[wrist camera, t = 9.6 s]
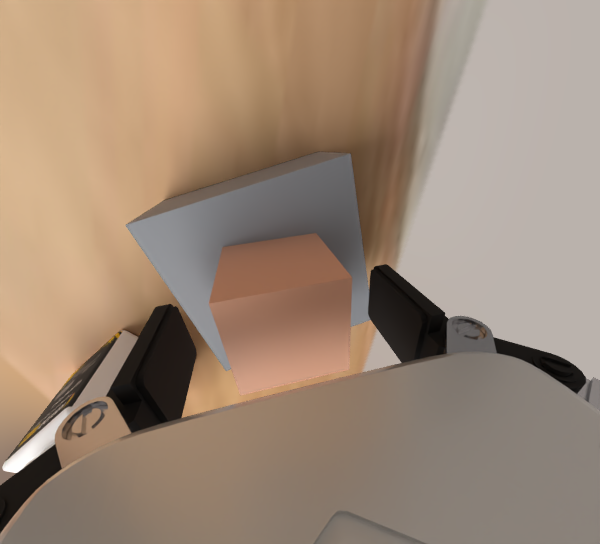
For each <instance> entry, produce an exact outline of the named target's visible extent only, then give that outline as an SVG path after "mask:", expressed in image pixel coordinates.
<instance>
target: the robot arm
mask: <svg viewBox="0 0 600 544" xmlns="http://www.w3.org/2000/svg"><path fill="white" fill-rule="evenodd" d="M368 315H369V318H370V319H371V321H372V322H373V324H374V325H375V326H376V328H377V329H378V330H379V332H380V333H381V335H382V336H383V337H384V339H385V340H386V341H387V343H388V344H389V345H390V347H391V348H392V350H393V351H394V353H395V354H396V355H397V357H398V358H399V359H400V361H401V362H402V363H400V364H396V365H391V366H387V367H383V368H379V369H375V370H371V371H367V372H362V373H358V374H354V375H350V376H346V377H342V378H338V379H334V380H330V381H326V382H322V383H318V384H313V385H309V386H305V387H301V388H297V389H293V390H289V391H285V392H281V393H277V394H273V395H269V396H265V397H261V398H257V399H254V400H250V401H246V402H242V403H238V404H234V405H230V406H226V407H222V408H218V409H214V410H210V411H206V412H202V413H199V414H195V415H191V416H188V417H184V418H181V417H182V413H183V409H184V405H185V401H186V396H187V392H188V388H189V384H190V380H191V376H192V371H193V367H194V363H195V359H196V348H195V346H194V343H193V341H192V339H191V337H190V334H189V332H188V330H187V328H186V325H185V323H184V321H183V319H182V316H181V314H180V312H179V310H178V308H177V307H176V306H175V307H173V305H171V304H168V305H163V306H157V307H156V308H155V309H154V311H153V313H152V315H151V316H150V318H149V320H148V322H147V323H146V325H145V327H144V329H143V331H142V332H141V334H140V336H139V338H138V339H137V341H136V343H135V345H134V346H133V348H132V350H131V352H130V353H129V355H128V357H127V359H126V361H125V362H124V364H123V366H122V368H121V369H120V371H119V373H118V375H117V376H116V378H115V380H114V382H113V384H112V385H111V387H110V390H109V391H108V393H107V395H106V397H105V396H103V397H97V398H94V399H92V400H89V401H87V402H85V403H84V404H82V405H80V406H79V407H78V408H76V409H75V410H74V411H72V412H71V413H70V414H69V415H68V416H67V417H66V418H65V419H64V420H63V421H62V423H61V424H60V426H59V427H58V429H57V431H56V433H55V445H53V446H52V447H51V448H49V449H48V450H47V451H45V452H44V453H43V454H41V455H40V456H39V457H37V458H36V459H35V460H33V461H32V462H31V463H29V464H28V465H27V466H25V467H24V468H23V469H21V470H20V471H19V472H18V473H16V474H15V475H14V476H12V477H11V478H10V479H8V480H7V481H6V482H4V483H3V484H2V485H0V544H600V380H598V379H596V378H593V379H592V380H591V381H590V380H588V379H586V377H585V376H584V374H583V373H582V371H580V370H579V369H578V368H577V367H576V366H575V365H573V364H572V363H570V362H569V361H567V360H565V359H563V358H561V357H559V356H556V355H553V354H551V353H547V352H544V351H540V350H537V349H533V348H530V347H525V346H522V345H519V344H515V343H512V342H508V341H505V340H501V339H497V338H494V337H493V335H492V332H491V330H490V329H489V328H488V327H487V326H486V325H485V324H483V323H482V322H480V321H478V320H476V319H473V318H469V317H465V316H455V317H452V318H450V319H448V318H447V317H446V316H445V312H443V311H442V310H441V309H440V308H439V307H437V306H436V305H435V304H434V303H432V302H431V301H430V300H429V299H428V298H427V297H425V296H424V295H423V294H422V293H420V292H419V291H418V290H417V289H416V288H415V287H413V286H412V285H411V284H410V283H409V282H407V281H406V280H405V279H404V278H403V277H401V276H400V275H399V274H398V273H397V272H395V271H394V270H393V269H392V268H391V267H389V266H388V265H387V264H385V265H380V266H375V267H374V270H371V275H370V289H369V303H368Z"/></svg>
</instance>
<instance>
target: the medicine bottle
mask: <svg viewBox="0 0 600 544" xmlns="http://www.w3.org/2000/svg"><path fill="white" fill-rule="evenodd" d="M138 338H139V337H137V336H135V335H133V334H132V333H130V332H128V331H126V330H121V331H119V332H118V333H117V334H116V335H115V336H114V337H113V338H112V339H110V340H109V341H108V342H107V343H106V344H105V345H104V346H103V347H102V348H101V349H100V350H98V351H97V352H96V353H95V354H94V355H93V356H92V357H91V358H90V359H89V360H88V361H86V362H85V363H84V364H83V365H82V366H81V367H80V368H79V369H78V370H77V371H76V372H75V373H73V374H72V375H71V377H70V378H69V379H68V380H67V382H66V383H65V384H64V386H63V387H62V388H61V390H60V391H59V392H58V394H57V395H56V396H55V397H54V399H53V400H52V401H51V403H50V404H49V405H48V407H47V408H46V409H45V410H44V412H43V413H42V414H41V416H40V417H39V418H38V420H37V421H36V423H35V424H34V425H33V426H32V427H31V429H30V430H29V431H28V433H27V434H26V435H25V436H24V438H23V439H22V440H21V442H20V443H19V445H18V446H17V447H16V448H15V450H14V451H13V452H12V453H11V455H10V456H9V457H8V459H7V460H6V461H5V463H4V465H3V470H4V471H8V472H14V473H18V472H19V471H20V470H21V469H23V468H24V467H25V466H27V465H28V464H29V463H31V462H32V461H33V460H35V459H36V458H37V457H39V456H40V455H41V454H43V453H44V452H45V451H47V450H48V449H49V448H51V447H52V446H53V445H55V433H56V431H57V429H58V427H59V426H60V424H61V423H62V421H63V420H64V419H65V418H66V417H67V416H68V415H69V414H70V413H71V412H72V411H74V410H75V409H76V408H78V407H79V406H80V405H82V404H84V403H85V402H87V401H89V400H92V399H94V398H97V397H103V396H105V397H106V395H107V393H108V391H109V390H110V387H111V385H112V384H113V382H114V380H115V378H116V376H117V375H118V373H119V371H120V369H121V368H122V366H123V364H124V362H125V361H126V359H127V357H128V355H129V353H130V352H131V350H132V348H133V346H134V345H135V343H136V341H137V339H138Z"/></svg>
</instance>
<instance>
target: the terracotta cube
mask: <svg viewBox="0 0 600 544" xmlns="http://www.w3.org/2000/svg"><path fill="white" fill-rule="evenodd" d="M351 300H352V277H351V275H350V274H349V273H348V272H347V270H346V269H345V268H344V267H343V265H342V264H341V263H340V262H339V261H338V259H337V258H336V257H335V256H334V254H333V253H332V252H331V251H330V249H329V248H328V247H327V246H326V245H325V243H324V242H323V241H322V240H321V238H320V237H319V236H318V235H317V233H312V234H306V235H299V236H292V237H286V238H279V239H273V240H266V241H259V242H253V243H246V244H239V245H233V246H226V247H222V251H221V255H220V259H219V263H218V268H217V272H216V276H215V280H214V284H213V288H212V292H211V296H210V300H209V306H210V309H211V312H212V315H213V318H214V321H215V323H216V326H217V329H218V332H219V335H220V338H221V341H222V344H223V347H224V349H225V352H226V355H227V358H228V361H229V364H230V367H231V370H232V372H233V375H234V378H235V381H236V384H237V387H238V390H239V393H240V395H245V394H249V393H253V392H257V391H262V390H266V389H270V388H274V387H278V386H282V385H287V384H291V383H295V382H299V381H303V380H308V379H312V378H316V377H320V376H324V375H329V374H333V373H337V372H341V371H345V370H349V361H350V330H351Z"/></svg>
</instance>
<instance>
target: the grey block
mask: <svg viewBox="0 0 600 544" xmlns="http://www.w3.org/2000/svg"><path fill="white" fill-rule="evenodd" d="M126 227H127V228H128V230H129V231H130V233H131V234H132V236H133V237H134V238H135V240H136V241H137V243H138V244H139V246H140V247H141V249H142V250H143V251H144V253H145V254H146V256H147V257H148V259H149V260H150V262H151V263H152V265H153V266H154V267H155V269H156V270H157V272H158V273H159V275H160V276H161V278H162V279H163V280H164V282H165V283H166V285H167V286H168V288H169V289H170V291H171V292H172V293H173V295H174V296H175V298H176V299H177V301H178V302H179V304H180V305H181V307H182V308H183V309H184V311H185V312H186V314H187V315H188V317H189V318H190V320H191V321H192V322H193V324H194V325H195V327H196V328H197V330H198V331H199V333H200V334H201V335H202V337H203V338H204V340H205V341H206V343H207V344H208V346H209V347H210V349H211V350H212V351H213V353H214V354H215V356H216V357H217V359H218V360H219V362H220V363H221V364H222V366H223V367H224V369H225V370H226V371H228V370H230V369H231V367H230V364H229V361H228V358H227V355H226V352H225V349H224V347H223V344H222V341H221V338H220V335H219V332H218V329H217V326H216V323H215V321H214V318H213V315H212V312H211V309H210V306H209V300H210V296H211V292H212V288H213V284H214V280H215V276H216V272H217V268H218V263H219V259H220V255H221V251H222V247H226V246H233V245H239V244H246V243H253V242H259V241H266V240H273V239H279V238H286V237H292V236H299V235H306V234H312V233H317V235H318V236H319V237H320V238H321V240H322V241H323V242H324V243H325V245H326V246H327V247H328V248H329V249H330V251H331V252H332V253H333V254H334V256H335V257H336V258H337V259H338V261H339V262H340V263H341V264H342V265H343V267H344V268H345V269H346V270H347V272H348V273H349V274H350V275H351V277H352V300H351V327H352V326H355V325H358V324H360V323H363V322H366V321H369V320H371V319H370V318H369V315H368V303H369V287H368V280H367V272H366V265H365V257H364V250H363V242H362V235H361V227H360V220H359V212H358V204H357V197H356V189H355V182H354V174H353V167H352V159H351V153H334V152H316V153H313V154H309V155H306V156H303V157H300V158H297V159H294V160H290V161H287V162H284V163H281V164H278V165H275V166H271V167H268V168H265V169H262V170H259V171H256V172H252V173H249V174H246V175H243V176H240V177H237V178H233V179H230V180H227V181H224V182H221V183H218V184H214V185H211V186H208V187H205V188H202V189H199V190H195V191H192V192H189V193H186V194H183V195H180V196H176V197H173V198H170V199H167V200H164V201H162V202H161V203H159V204H158V205H156V206H155V207H153V208H151V209H150V210H148V211H147V212H145V213H144V214H142V215H140V216H139V217H137V218H136V219H134V220H133V221H131V222H129V223H128V224H126Z"/></svg>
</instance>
